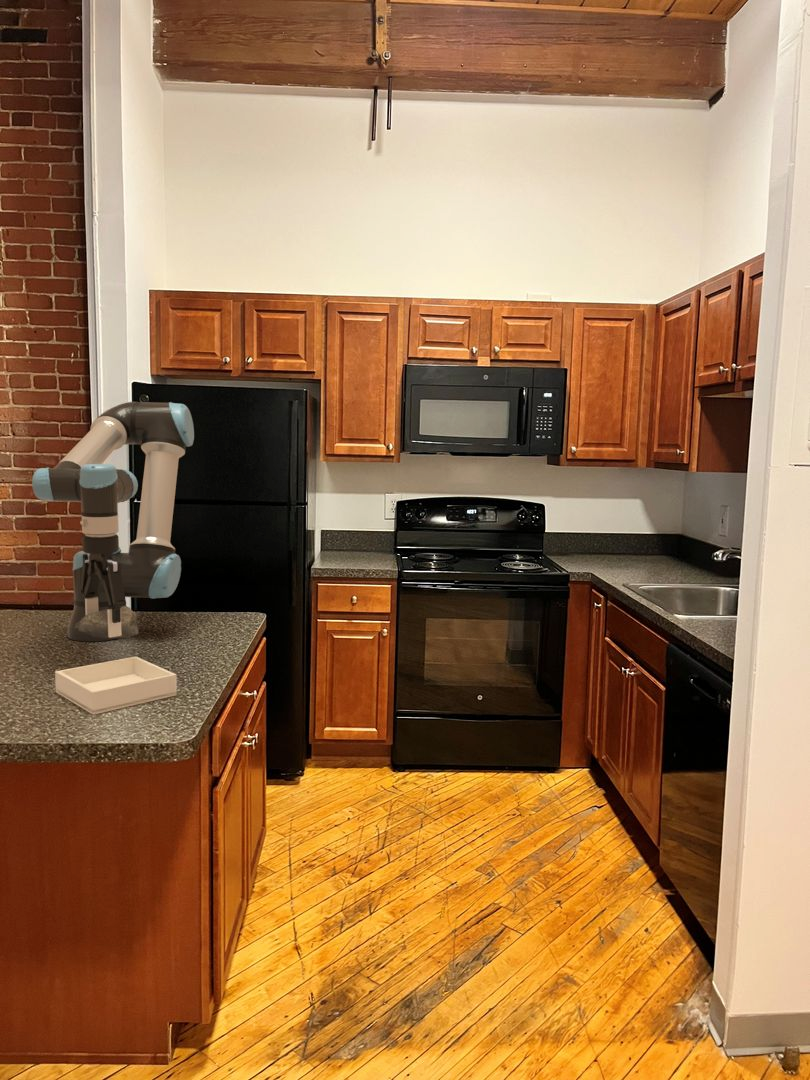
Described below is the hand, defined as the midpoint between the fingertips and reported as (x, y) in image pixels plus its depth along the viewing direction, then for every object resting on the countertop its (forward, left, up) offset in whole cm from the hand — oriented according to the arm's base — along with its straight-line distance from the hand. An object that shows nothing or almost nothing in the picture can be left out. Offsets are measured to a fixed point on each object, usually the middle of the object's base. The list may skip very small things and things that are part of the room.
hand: (103, 630), depth 175 cm
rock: (0, +1, -1) cm, 1 cm away
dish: (+17, -5, -9) cm, 20 cm away
